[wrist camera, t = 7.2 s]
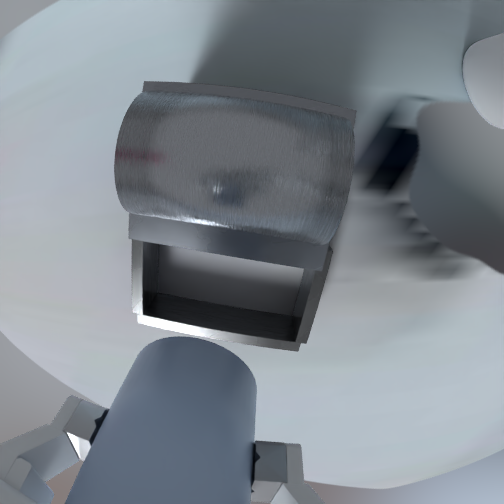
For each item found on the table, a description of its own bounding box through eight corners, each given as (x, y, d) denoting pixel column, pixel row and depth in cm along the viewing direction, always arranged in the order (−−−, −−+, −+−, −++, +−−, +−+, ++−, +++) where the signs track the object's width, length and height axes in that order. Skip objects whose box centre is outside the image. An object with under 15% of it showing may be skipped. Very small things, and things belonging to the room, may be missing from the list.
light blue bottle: (267, 349, 10) (259, 622, 2) (246, 431, 12) (230, 615, 4) (130, 323, 10) (5, 543, 2) (139, 409, 12) (76, 576, 4)
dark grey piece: (346, 124, 19) (409, 113, 10) (299, 325, 24) (312, 421, 15) (164, 97, 19) (89, 71, 9) (148, 299, 24) (95, 379, 15)
